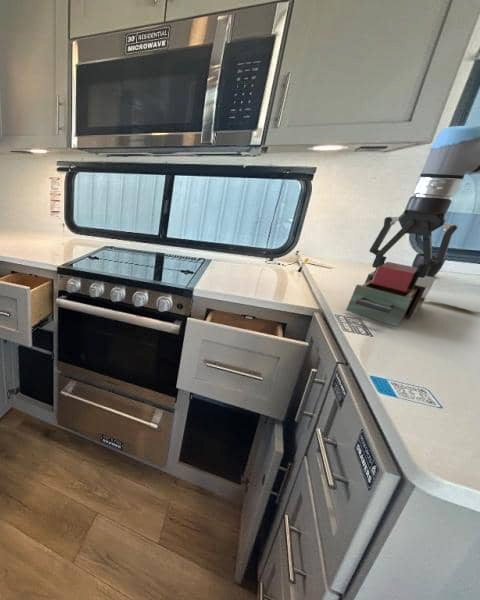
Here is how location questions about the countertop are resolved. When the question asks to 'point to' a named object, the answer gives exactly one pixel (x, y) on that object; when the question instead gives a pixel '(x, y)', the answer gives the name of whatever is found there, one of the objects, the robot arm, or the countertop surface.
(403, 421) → the countertop surface
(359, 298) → the drawer
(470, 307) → the countertop surface
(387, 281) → the red rectangular block
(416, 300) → the cabinet
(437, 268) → the mug
